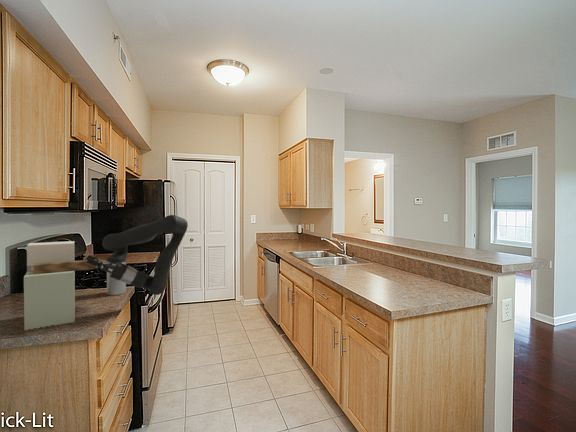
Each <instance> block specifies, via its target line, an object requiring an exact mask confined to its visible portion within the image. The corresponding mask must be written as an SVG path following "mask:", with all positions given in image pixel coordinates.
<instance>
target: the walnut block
mask: <svg viewBox="0 0 576 432" xmlns="http://www.w3.org/2000/svg"><path fill="white" fill-rule="evenodd" d="M95 260H97V259H95ZM97 269H98V268H97V267H96V266H94V265H92V264H89V263H87V259H84V260H83V259H82V260H75V261H68V262H55V263H42V264H28V265H27V264H26V273H27V275H33V274H44V273H55V272H66V271H75V272H76V271H85V270H86V271H87V270H97Z"/></svg>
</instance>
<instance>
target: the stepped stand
mask: <svg viewBox="0 0 576 432" xmlns="http://www.w3.org/2000/svg"><path fill="white" fill-rule="evenodd" d="M75 257H76V256H75V240H73V241H72V240H71V241H69V240H68V241H52V242H51V241H50V242H30V243H28V244H27V245H26V266H27V265H28V264H42V263H55V262H68V261H76V260H75ZM75 272H76V271H66V272H55V273H44V274H33V275H27V272H26V273H25V274H24V276H23V311H24V312H23V315H24V317H23V322H24V326H23V327H24V331H29V329H30V330H35V329H34V328H36V329H41V328H40V327H42V328H47V327H46V326H48V327H52V326H51V325H54V326H58V325H59V326H60V325H65V324H70V323H74V322H75V323H76V301H75V300H76V290H75V289H76V286H75V285H76V283H75V282H76V281H75V280H76V279H75V278H76V277H75V275H76V273H75Z"/></svg>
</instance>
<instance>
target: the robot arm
mask: <svg viewBox="0 0 576 432" xmlns="http://www.w3.org/2000/svg"><path fill="white" fill-rule="evenodd" d="M187 229H188V220H186V219H185V218H183V217H180V216H178V215H174V214H168V215H166V216H164V217H162V218H159V219H158V220H155V221H151V222H149V223H144V224H141V225H138V226H134V227H132V228H129V229H126V230H125V231H122V232H117V233H110V234H107V235H106V236H105V237H103V239H102V241H101V243H102V247H103V248H104V249H105V250H107V251H108V252H112V254H111V255H109V256H108V257H107V258H106V259H102V258H100V257H95V256H92V255H90V254H88V255H87V257H86V259H85V260H87V263H89V264H92V265H94V266H96V267H97V269H99V270H101V271H104V272H106V294H107V295H110V296H116V295H122V294H125V293H126V292H127V289H126V288H127V284H128V285H130V286H133V287H135V288H141V289H144V290H147V291H149V292H150V293H151V294H152V295H155V296H157V295H158V296H159V295H162V294H163V293H164V292H165V290H166V288H167V283H168V277H169V272H170V269H171V266H172V263H173V260H174V257H175V255H176V253H177V251H178V249H179V247H180V244H181V242H183V239H184V236H185V235H186V233H187V231H188V230H187ZM164 233H169V234H172V235H171V238H170V241H169V242H168V244H167V245H166V247H165V248H164V249H163V250H162V251H161V252H160V253H159V255H158V257H157V260H156V262H155V265H154V269H153V272H154V274H153V276H152V275H149V274H146V273H144V272H142V271H141V270H137V269H136V268H134V267H132V266H130V265H127V263H126V262H127V261H126V260H127V257H128V248H129V247H128V246H132V245H138V244H144V243H149V242H150V241H153V240H154V239H155V238H156V237H157V235H161V234H164ZM95 259H97V260H95Z"/></svg>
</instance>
